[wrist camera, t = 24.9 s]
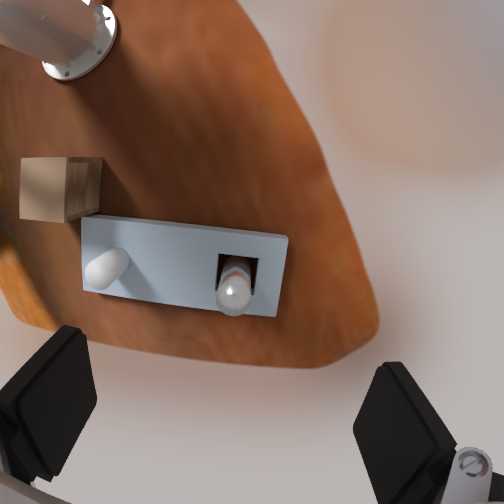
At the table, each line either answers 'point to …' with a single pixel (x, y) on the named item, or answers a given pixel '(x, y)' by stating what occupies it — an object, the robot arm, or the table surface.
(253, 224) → the table surface
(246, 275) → the peg
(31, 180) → the wooden box
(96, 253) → the board
